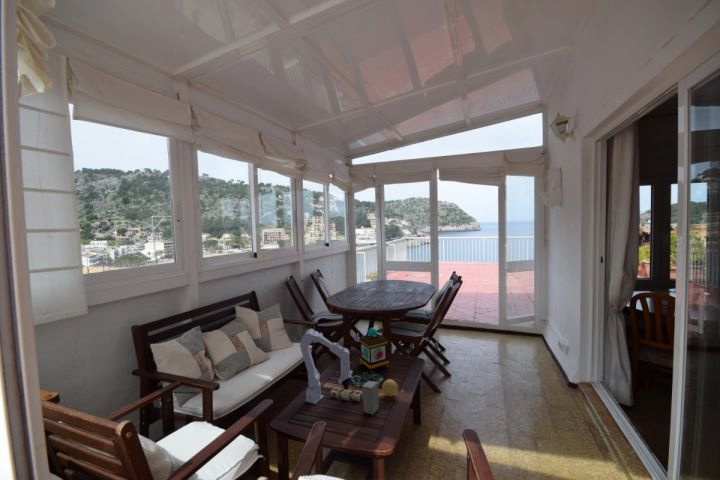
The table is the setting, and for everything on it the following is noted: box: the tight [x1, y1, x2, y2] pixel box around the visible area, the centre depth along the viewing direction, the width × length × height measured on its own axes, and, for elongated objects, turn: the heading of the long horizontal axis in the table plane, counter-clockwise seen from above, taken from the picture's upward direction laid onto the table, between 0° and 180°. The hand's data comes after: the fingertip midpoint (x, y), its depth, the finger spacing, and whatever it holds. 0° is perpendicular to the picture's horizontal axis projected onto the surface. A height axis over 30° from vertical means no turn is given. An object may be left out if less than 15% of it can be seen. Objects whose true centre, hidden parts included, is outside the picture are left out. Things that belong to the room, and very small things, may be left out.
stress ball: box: [381, 378, 399, 397], centre depth 201 cm, size 10×10×10 cm
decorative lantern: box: [358, 327, 390, 373], centre depth 242 cm, size 20×20×30 cm
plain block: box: [340, 389, 353, 401], centre depth 201 cm, size 5×5×4 cm
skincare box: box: [361, 380, 380, 415], centre depth 187 cm, size 8×7×16 cm
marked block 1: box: [330, 386, 343, 399], centre depth 204 cm, size 5×5×4 cm
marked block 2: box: [351, 389, 363, 402], centre depth 199 cm, size 5×5×4 cm
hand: (346, 389), depth 201 cm, fingers closed
